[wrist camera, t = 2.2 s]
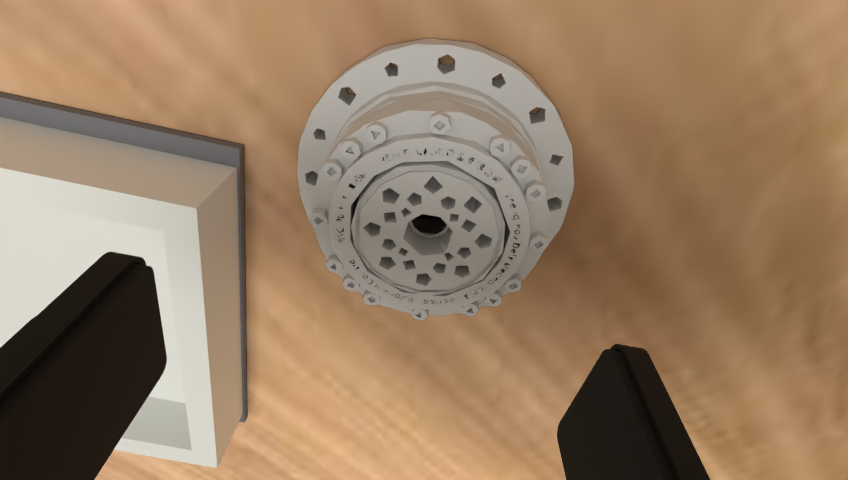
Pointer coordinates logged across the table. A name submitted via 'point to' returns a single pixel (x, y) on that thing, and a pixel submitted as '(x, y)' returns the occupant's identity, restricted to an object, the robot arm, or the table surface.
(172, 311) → the tray
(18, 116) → the grey flat plate
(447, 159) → the mechanical component
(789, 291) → the table surface
